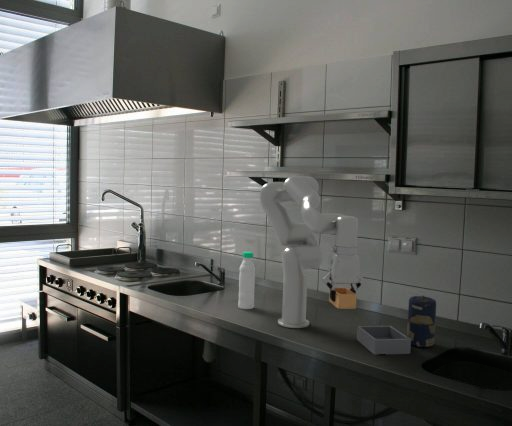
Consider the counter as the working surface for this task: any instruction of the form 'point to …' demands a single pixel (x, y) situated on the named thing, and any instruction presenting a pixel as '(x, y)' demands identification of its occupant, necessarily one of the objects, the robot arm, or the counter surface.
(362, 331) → the big crate
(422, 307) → the canister
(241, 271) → the water bottle
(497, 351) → the counter surface
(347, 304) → the small crate
